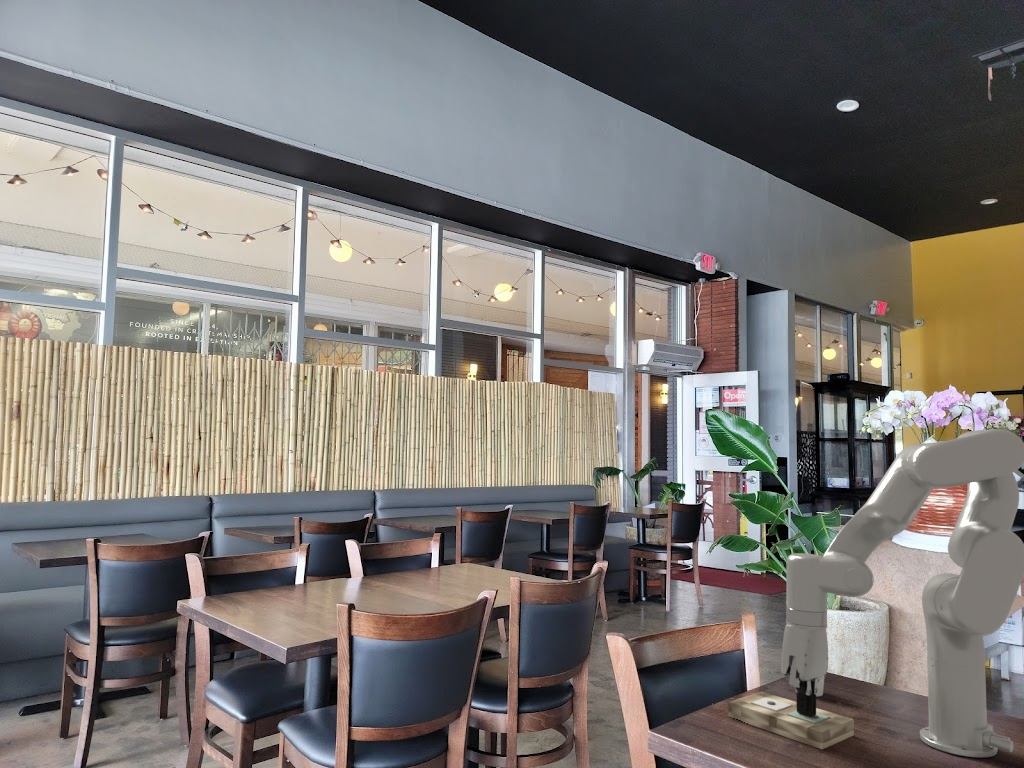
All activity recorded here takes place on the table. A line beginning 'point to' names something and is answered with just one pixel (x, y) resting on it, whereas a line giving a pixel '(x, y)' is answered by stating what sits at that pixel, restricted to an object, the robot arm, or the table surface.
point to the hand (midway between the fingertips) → (806, 713)
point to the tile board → (792, 721)
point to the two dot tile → (813, 719)
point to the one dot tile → (771, 704)
